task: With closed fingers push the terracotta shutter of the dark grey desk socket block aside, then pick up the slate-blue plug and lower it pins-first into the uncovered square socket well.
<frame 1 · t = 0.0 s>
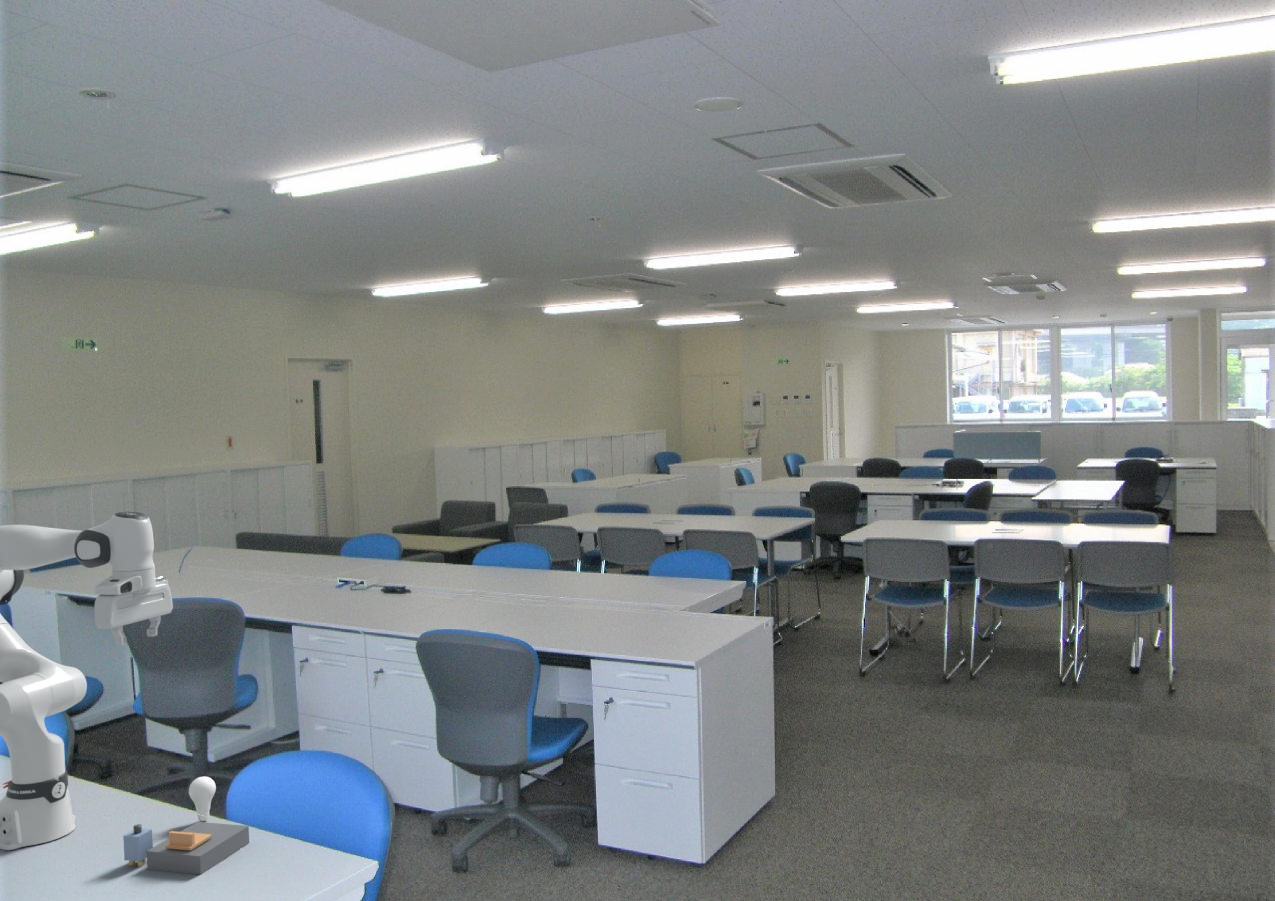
hand: (137, 640, 222), 48 cm above the table, fingers open, 8 cm apart
shutter: (189, 835, 212), point 6 cm above the table, slide at 0.0 cm
plug: (139, 863, 212), on the table
socket block: (199, 855, 215), on the table
lightbulb: (203, 822, 235), on the table
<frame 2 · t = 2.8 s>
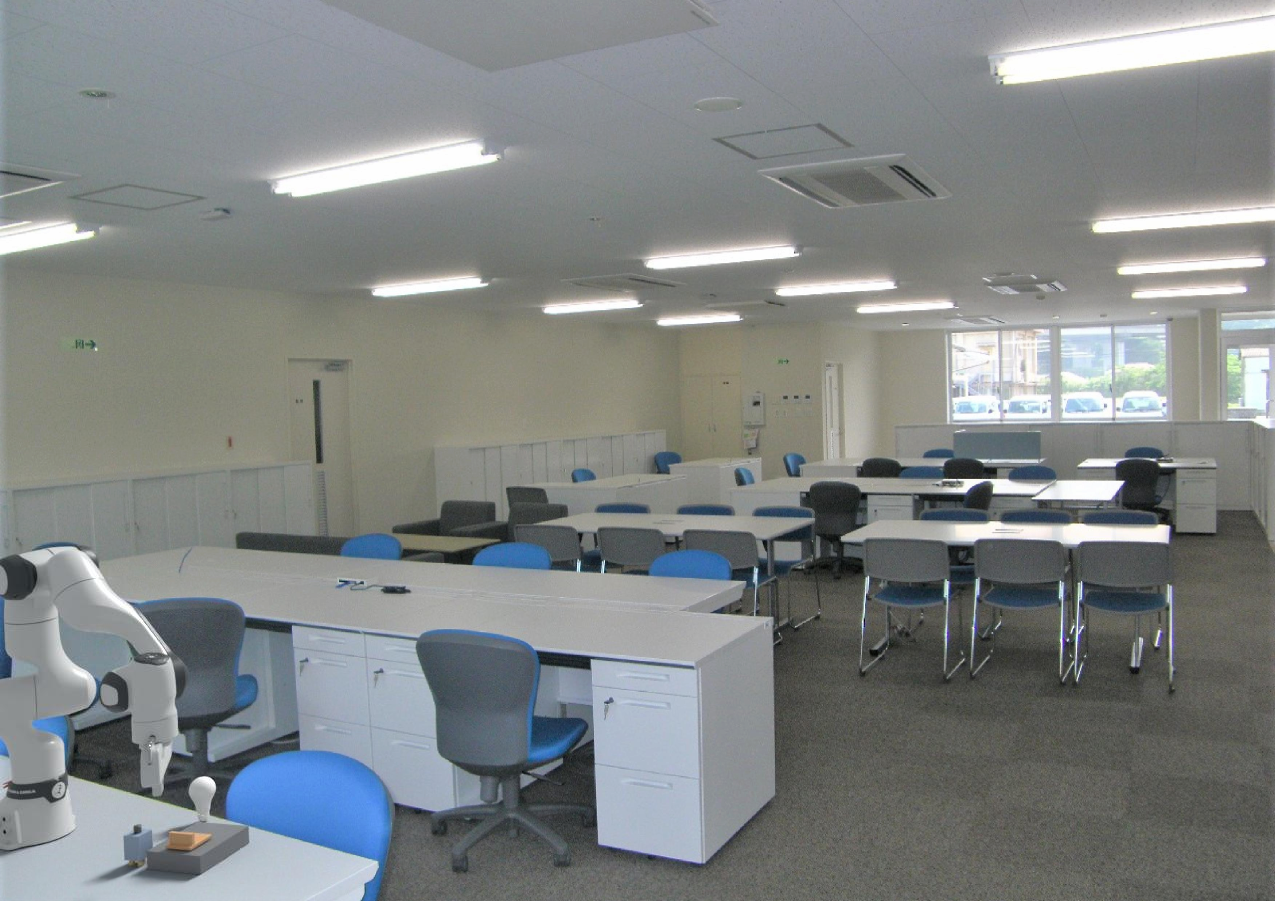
hand: (158, 794, 203), 18 cm above the table, fingers closed
nothing on the table moved.
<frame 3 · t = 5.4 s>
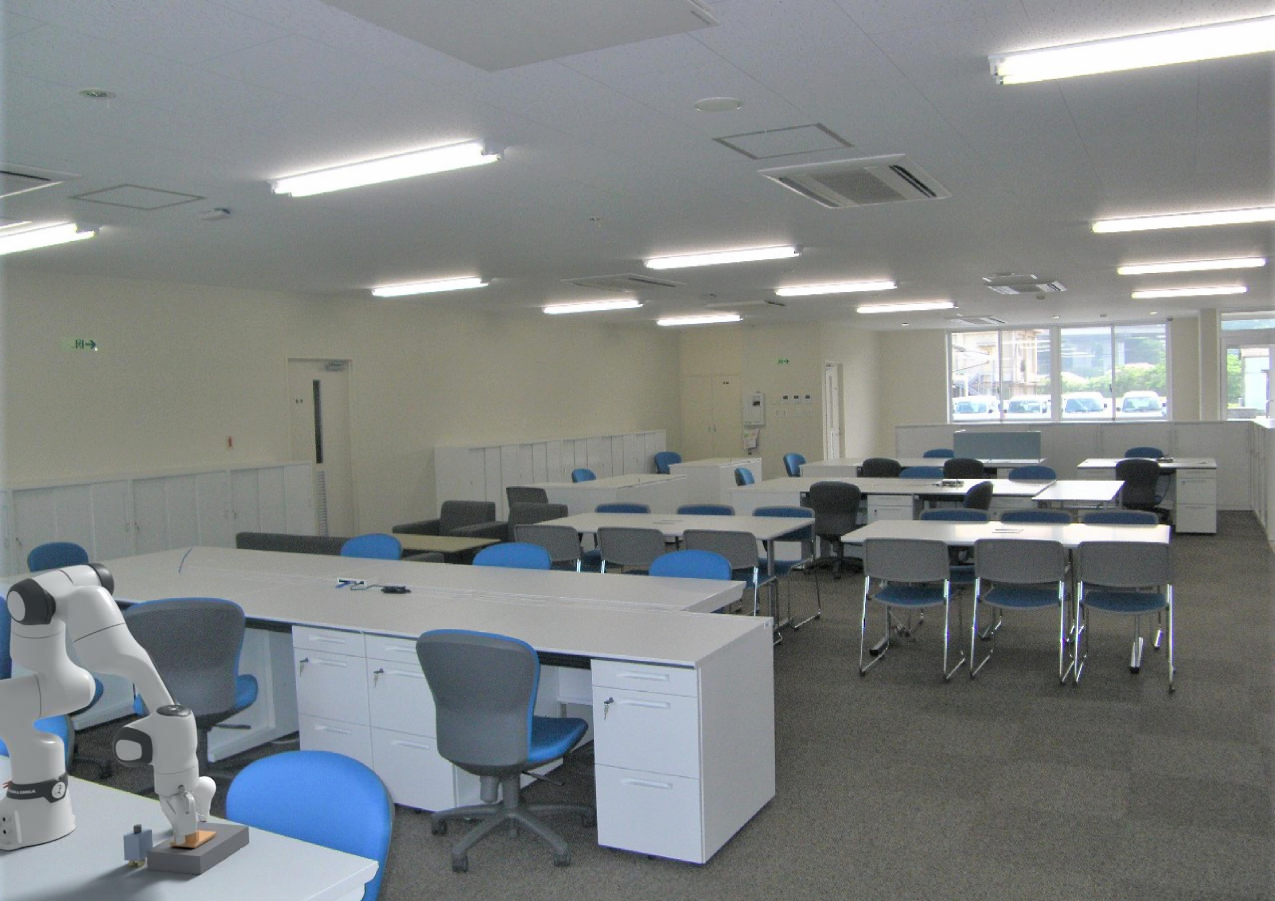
hand: (179, 842, 209), 6 cm above the table, fingers closed
shutter: (193, 832, 213), point 6 cm above the table, slide at 1.4 cm, touching gripper
everything else where it was.
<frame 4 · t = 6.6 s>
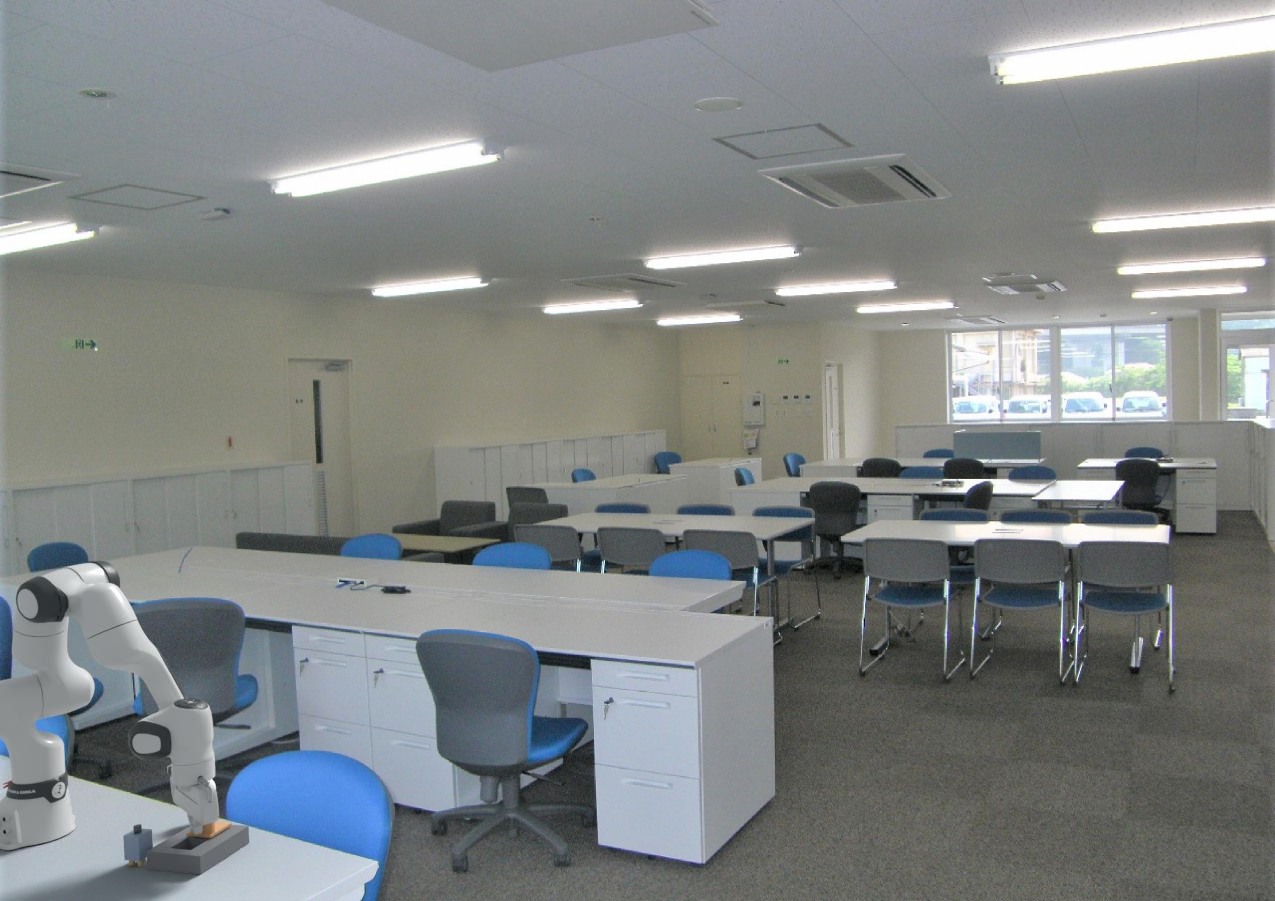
hand: (196, 832, 214), 6 cm above the table, fingers closed
shutter: (209, 823, 218), point 6 cm above the table, slide at 6.5 cm, touching gripper
everything else where it was.
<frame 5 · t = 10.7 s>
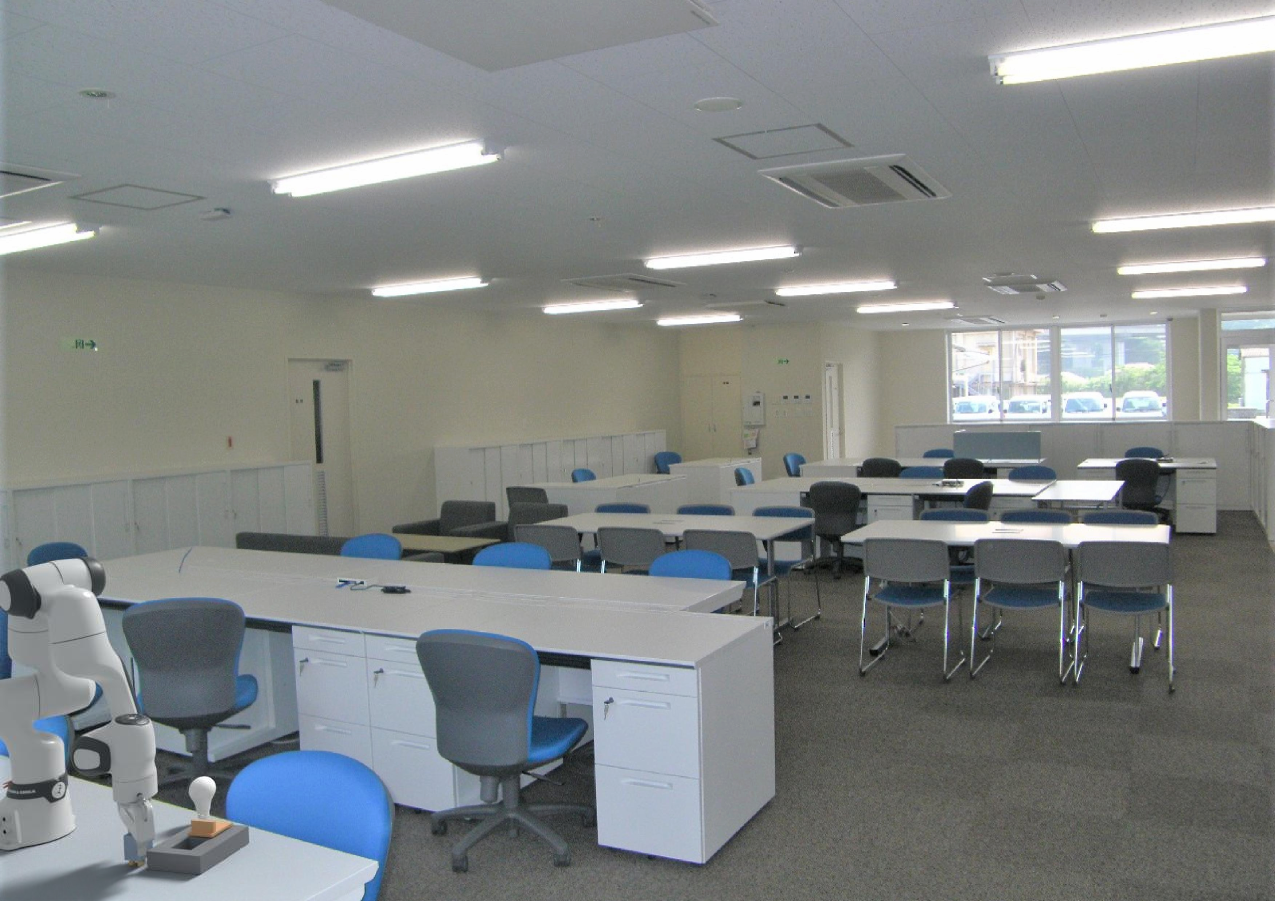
hand: (138, 849, 212), 3 cm above the table, fingers closed on plug, 6 cm apart
shutter: (210, 823, 219), point 6 cm above the table, slide at 6.8 cm
plug: (139, 863, 212), on the table, touching gripper
everything else where it was.
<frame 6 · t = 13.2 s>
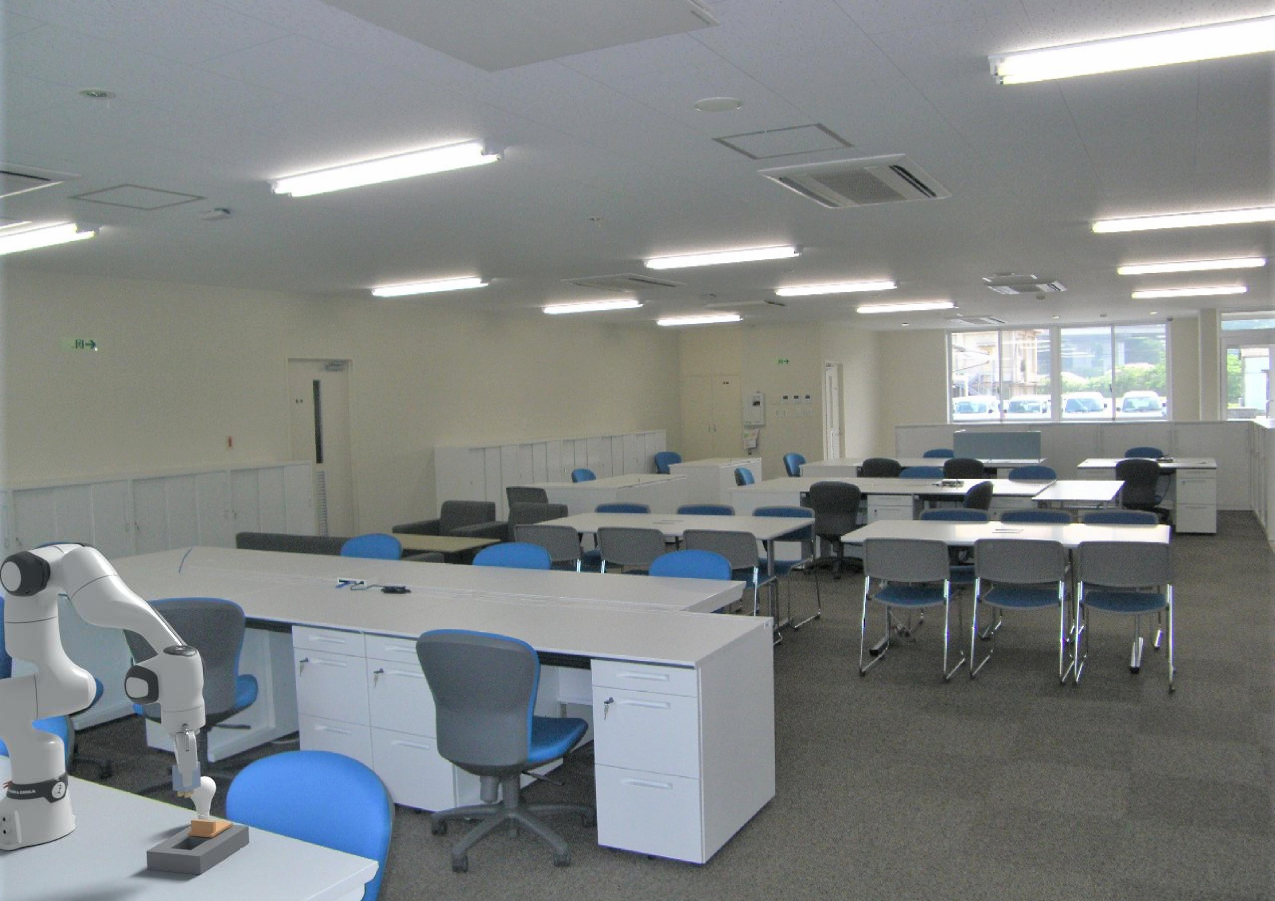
hand: (186, 781, 212), 18 cm above the table, fingers closed on plug, 6 cm apart
plug: (187, 794, 212), point 15 cm above the table, touching gripper
everything else where it was.
when the fingers open (5 cm above the table, at t = 15.6 s): plug drops 1 cm, resting on socket block.
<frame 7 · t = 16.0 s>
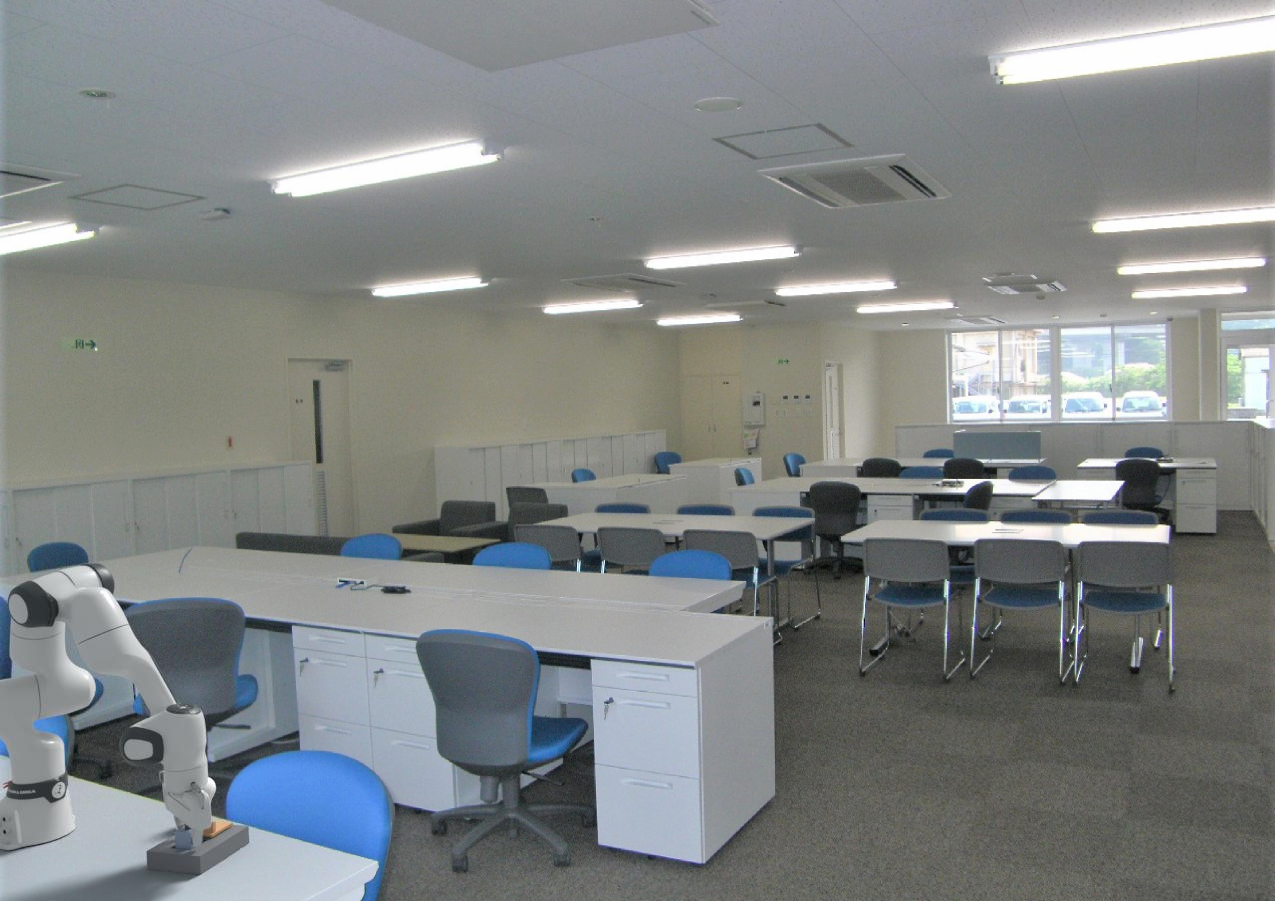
hand: (189, 838, 212), 5 cm above the table, fingers open, 8 cm apart
plug: (190, 859, 212), point 1 cm above the table, touching socket block
everything else where it was.
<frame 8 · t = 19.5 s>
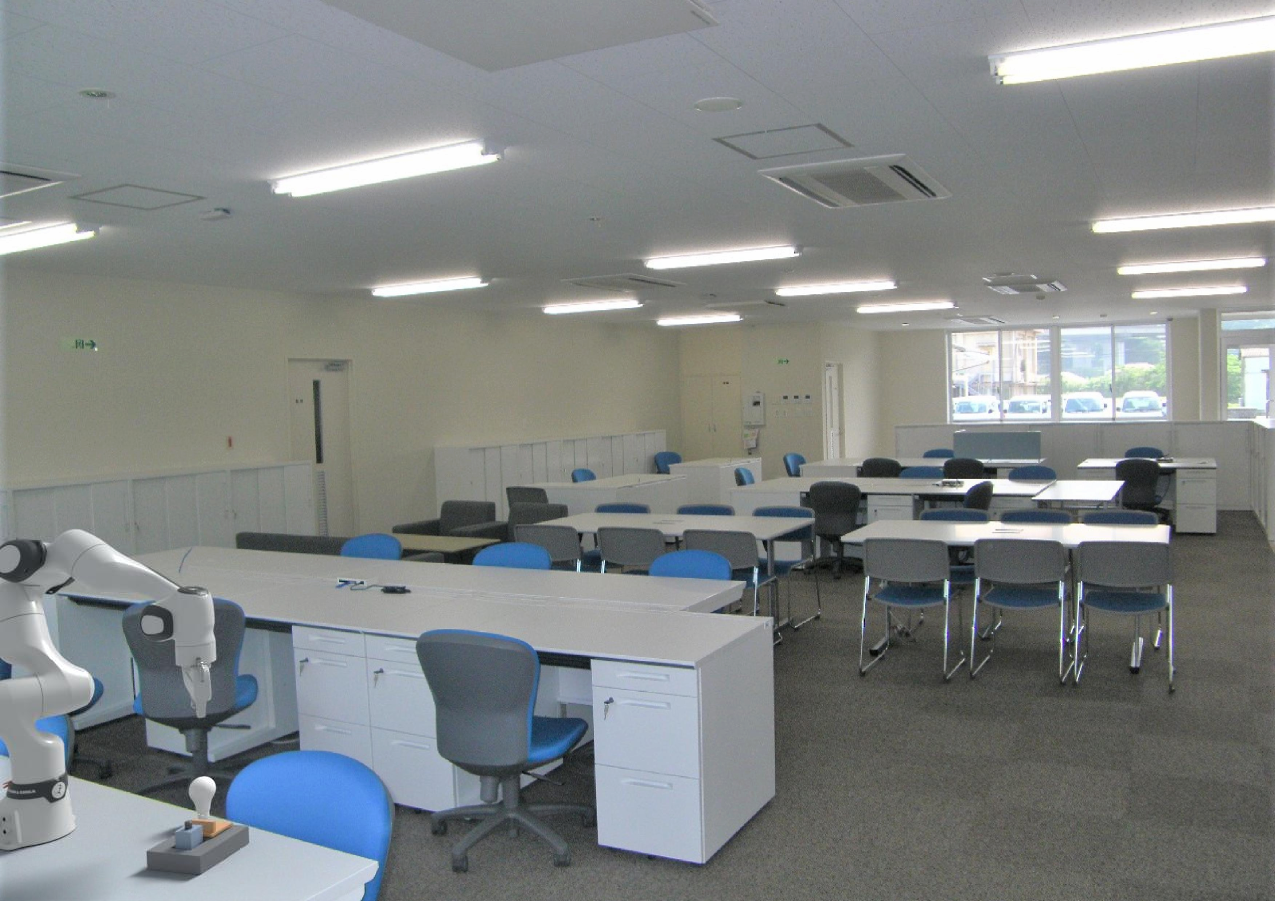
hand: (198, 712, 227), 29 cm above the table, fingers open, 8 cm apart
nothing on the table moved.
at the end: plug 0.0 cm from the target spot on the socket block, point 0.5 cm above the socket block's base; shutter slide at 6.8 cm; the gripper is holding nothing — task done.
